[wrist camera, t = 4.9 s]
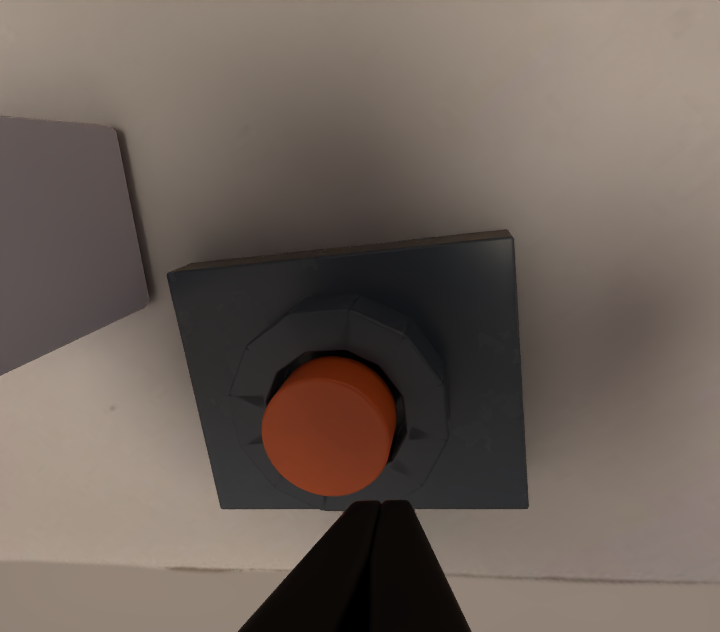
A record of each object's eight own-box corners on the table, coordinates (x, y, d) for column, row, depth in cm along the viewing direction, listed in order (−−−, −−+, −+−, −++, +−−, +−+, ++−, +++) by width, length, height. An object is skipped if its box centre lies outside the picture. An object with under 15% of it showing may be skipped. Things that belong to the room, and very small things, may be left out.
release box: (508, 228, 16) (520, 246, 13) (523, 480, 19) (536, 548, 15) (190, 263, 19) (132, 285, 15) (238, 483, 21) (197, 543, 18)
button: (390, 350, 15) (381, 374, 13) (403, 462, 16) (397, 497, 14) (271, 358, 16) (249, 381, 14) (291, 464, 17) (272, 497, 15)
